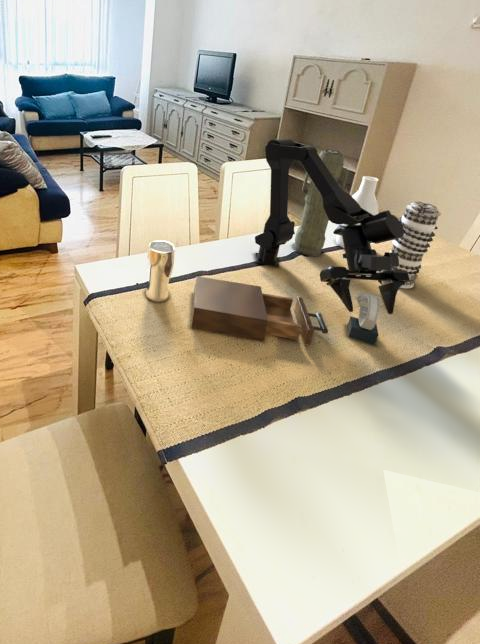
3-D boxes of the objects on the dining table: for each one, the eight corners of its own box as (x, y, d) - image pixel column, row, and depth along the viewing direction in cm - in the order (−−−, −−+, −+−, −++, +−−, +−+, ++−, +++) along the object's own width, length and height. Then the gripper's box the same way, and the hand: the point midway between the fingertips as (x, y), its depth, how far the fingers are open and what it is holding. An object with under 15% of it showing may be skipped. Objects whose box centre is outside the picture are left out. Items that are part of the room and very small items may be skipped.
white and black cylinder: (383, 268, 123) (408, 196, 114) (418, 281, 117) (447, 206, 108) (375, 279, 117) (401, 203, 108) (411, 293, 111) (442, 214, 102)
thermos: (327, 259, 126) (357, 157, 114) (289, 251, 130) (313, 151, 117) (324, 247, 134) (352, 150, 121) (288, 240, 138) (311, 145, 125)
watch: (371, 328, 96) (384, 292, 92) (375, 350, 89) (390, 311, 85) (346, 321, 98) (358, 285, 94) (348, 341, 91) (361, 303, 87)
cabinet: (256, 305, 102) (260, 286, 100) (263, 341, 90) (268, 320, 87) (193, 294, 105) (196, 275, 103) (191, 328, 93) (194, 307, 90)
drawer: (316, 314, 98) (320, 300, 97) (329, 349, 87) (334, 334, 86) (236, 300, 102) (239, 287, 101) (240, 332, 91) (243, 317, 89)
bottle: (375, 254, 131) (398, 184, 122) (342, 252, 131) (363, 183, 122) (356, 238, 142) (377, 173, 132) (326, 237, 142) (345, 171, 132)
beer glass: (173, 291, 106) (179, 243, 100) (165, 305, 100) (170, 255, 94) (149, 284, 109) (154, 237, 103) (140, 297, 103) (144, 248, 97)
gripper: (337, 236, 89) (350, 306, 83) (418, 240, 89) (437, 310, 83) (314, 249, 99) (324, 312, 93) (386, 253, 99) (401, 316, 93)
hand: (370, 312), depth 90 cm, fingers open, 9 cm apart
